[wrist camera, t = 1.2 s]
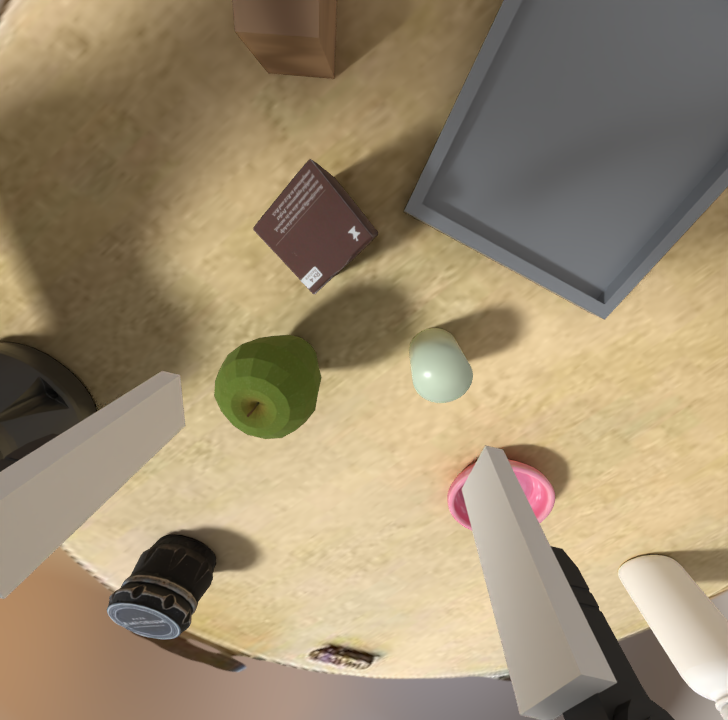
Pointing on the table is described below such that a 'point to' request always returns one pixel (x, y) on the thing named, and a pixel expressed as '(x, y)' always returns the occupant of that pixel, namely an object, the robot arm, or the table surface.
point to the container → (164, 588)
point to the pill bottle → (682, 623)
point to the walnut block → (289, 35)
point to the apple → (269, 386)
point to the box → (315, 227)
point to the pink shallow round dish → (530, 481)
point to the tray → (584, 141)
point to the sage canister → (439, 366)
